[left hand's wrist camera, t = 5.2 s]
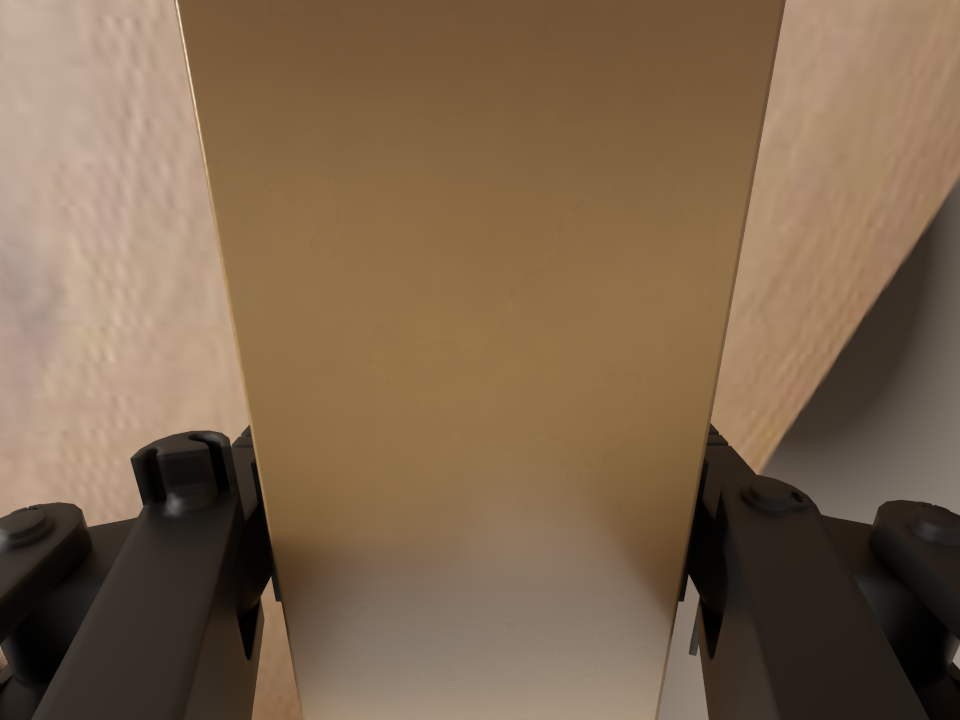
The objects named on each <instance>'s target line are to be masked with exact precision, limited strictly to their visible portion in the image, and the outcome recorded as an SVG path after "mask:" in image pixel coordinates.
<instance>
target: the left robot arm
mask: <svg viewBox="0 0 960 720" xmlns="http://www.w3.org/2000/svg"><path fill="white" fill-rule="evenodd" d="M130 459H131V463H132V466H133V470H134V474H135V477H136V481H137V484H138V488H139V492H140V495H141V499H142V502H143V506H144V507H143V509H142V511H141V512H140V514H139V516H138V517H137V518H133V519H129V520H123V521H118V522H113V523H108V524H102V525H97V526H92V527H87V524H86V521H85V518H84V515H83V512H82V510H81V509H80V508H79V507H77V506H76V505H74V504H69V503H60V502H58V503H50V504H38V505H34V506H29V508H26V507H25V508H22V509H19V510H16V511H14V512H12V513H11V514H9V515H7V516H4V517H2V518H0V646H1V648H2V651H3V653H4V655H5V657H6V660H7V662H8V664H7V666H6V667H5V668H4V669H3V670H2V671H1V672H0V720H251V718H252V710H253V703H254V695H255V688H256V680H257V672H258V665H259V657H260V650H261V642H262V634H263V627H264V614H263V608H262V603H261V595H262V593H263V591H264V589H265V587H266V585H267V583H268V581H269V579H270V577H272V583H273V588H274V594H275V599H276V601H281V597H280V591H279V585H278V580H277V574H276V569H275V563H274V557H273V552H272V546H271V541H270V535H269V529H268V524H267V518H266V513H265V507H264V501H263V496H262V490H261V485H260V479H259V473H258V468H257V462H256V457H255V451H254V445H253V440H252V434H251V429H250V425H249V426H248V427H247V428H246V429H245V430H244V432H243V433H242V434H241V437H238V438H237V439H236V441H235V442H234V443H233V444H232V447H231V445H230V440H229V438H228V437H227V436H225V435H224V434H222V433H219V432H214V431H209V430H208V431H190V432H185V433H179V434H174V435H171V436H168V437H165V438H162V439H159V440H157V441H154V442H152V443H151V444H149V445H147V446H145V447H143V448H141V449H140V450H139V451H138V452H137V453H136V454H135V455H134V456H132V457H131V458H130ZM688 575H690V577H691V579H692V581H693V583H694V585H695V587H696V589H697V591H698V593H699V595H700V597H699V603H698V608H697V613H696V618H695V623H694V628H693V633H692V638H691V643H690V650H689V654H690V655H695V656H696V654H697V649H698V645H699V648H700V656H701V663H702V671H703V679H704V686H705V694H706V701H707V709H708V717H709V720H960V669H959V668H958V667H957V666H956V665H955V664H954V663H953V662H952V661H953V658H954V656H955V654H956V652H957V649H958V647H959V645H960V515H957V514H955V513H953V512H950V511H949V510H948V509H946V508H943V507H940V506H937V505H934V506H933V505H932V504H929V503H925V502H914V501H906V500H896V501H887V502H885V503H884V504H883V505H881V506H880V507H879V508H878V511H877V514H876V517H875V520H874V523H873V525H870V524H865V523H860V522H854V521H849V520H844V519H838V518H833V517H828V516H824V515H821V513H820V511H819V510H818V508H817V506H816V505H815V503H814V502H813V501H812V500H811V499H810V498H809V496H808V495H806V494H805V493H803V492H802V491H800V490H798V489H797V488H795V487H794V486H792V485H789V484H787V483H784V482H782V481H779V480H777V479H774V478H769V477H765V476H760V475H756V474H755V472H754V471H753V470H752V469H751V468H750V467H749V466H748V465H747V463H746V462H745V461H744V460H743V459H742V458H741V457H740V456H739V454H738V453H737V452H736V451H735V450H734V449H733V448H732V447H731V446H728V442H727V441H726V440H725V439H724V438H723V437H722V435H719V432H718V431H717V430H716V429H715V428H714V426H713V425H712V424H711V423H710V427H709V433H708V438H707V444H706V450H705V455H704V461H703V466H702V472H701V478H700V483H699V489H698V494H697V500H696V506H695V511H694V517H693V522H692V528H691V534H690V539H689V545H688V550H687V556H686V562H685V567H684V573H683V579H682V584H681V590H680V595H679V601H684V597H685V592H686V586H687V581H688Z"/></svg>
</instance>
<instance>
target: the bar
mask: <svg viewBox="0 0 960 720" xmlns="http://www.w3.org/2000/svg"><path fill="white" fill-rule="evenodd" d="M785 1H786V0H174V3H175V8H176V14H177V20H178V25H179V31H180V36H181V42H182V48H183V53H184V59H185V64H186V70H187V76H188V81H189V87H190V92H191V98H192V104H193V109H194V115H195V120H196V126H197V132H198V137H199V143H200V148H201V154H202V160H203V165H204V171H205V176H206V182H207V188H208V193H209V199H210V204H211V210H212V216H213V221H214V227H215V232H216V238H217V244H218V249H219V255H220V260H221V266H222V272H223V277H224V283H225V288H226V294H227V300H228V305H229V311H230V317H231V322H232V328H233V333H234V339H235V345H236V350H237V356H238V361H239V367H240V373H241V378H242V384H243V389H244V395H245V401H246V406H247V412H248V417H249V423H250V429H251V434H252V440H253V445H254V451H255V457H256V462H257V468H258V473H259V479H260V485H261V490H262V496H263V501H264V507H265V513H266V518H267V524H268V529H269V535H270V541H271V546H272V552H273V557H274V563H275V569H276V574H277V580H278V585H279V591H280V597H281V602H282V608H283V613H284V619H285V625H286V630H287V636H288V642H289V647H290V653H291V658H292V664H293V670H294V675H295V681H296V686H297V692H298V698H299V703H300V709H301V714H302V720H657V719H658V713H659V707H660V702H661V696H662V691H663V685H664V679H665V674H666V668H667V662H668V657H669V651H670V646H671V640H672V635H673V629H674V623H675V618H676V612H677V606H678V601H679V595H680V590H681V584H682V579H683V573H684V567H685V562H686V556H687V550H688V545H689V539H690V534H691V528H692V522H693V517H694V511H695V506H696V500H697V494H698V489H699V483H700V478H701V472H702V466H703V461H704V455H705V450H706V444H707V438H708V433H709V427H710V422H711V416H712V410H713V405H714V399H715V394H716V388H717V382H718V377H719V371H720V366H721V360H722V354H723V349H724V343H725V338H726V332H727V326H728V321H729V315H730V310H731V304H732V298H733V293H734V287H735V282H736V276H737V270H738V265H739V259H740V253H741V248H742V242H743V237H744V231H745V225H746V220H747V214H748V209H749V203H750V197H751V192H752V186H753V181H754V175H755V169H756V164H757V158H758V153H759V147H760V141H761V136H762V130H763V125H764V119H765V113H766V108H767V102H768V97H769V91H770V85H771V80H772V74H773V69H774V63H775V57H776V52H777V46H778V41H779V35H780V29H781V24H782V18H783V13H784V7H785Z"/></svg>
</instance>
